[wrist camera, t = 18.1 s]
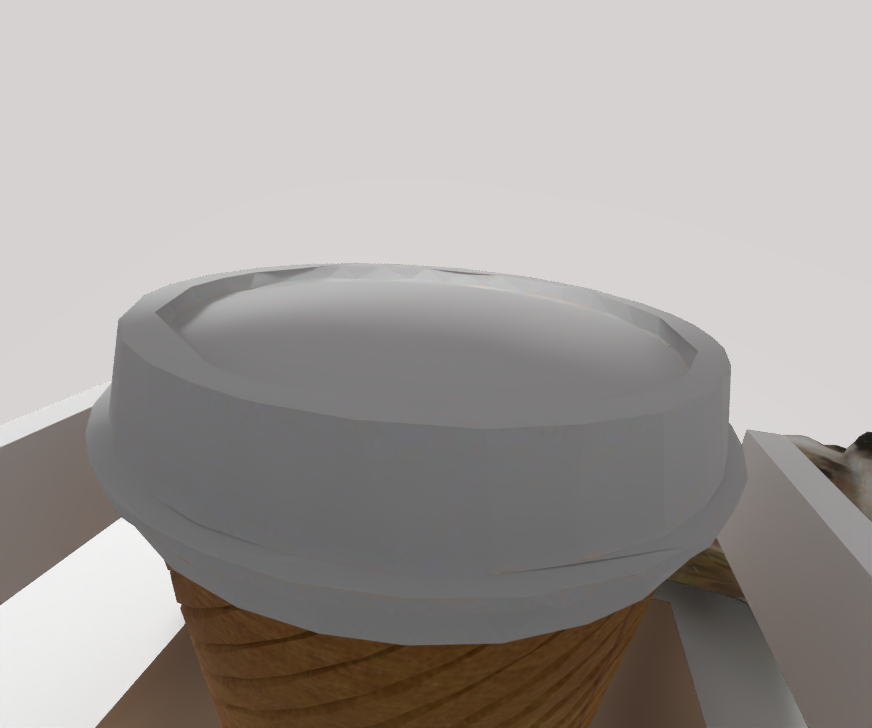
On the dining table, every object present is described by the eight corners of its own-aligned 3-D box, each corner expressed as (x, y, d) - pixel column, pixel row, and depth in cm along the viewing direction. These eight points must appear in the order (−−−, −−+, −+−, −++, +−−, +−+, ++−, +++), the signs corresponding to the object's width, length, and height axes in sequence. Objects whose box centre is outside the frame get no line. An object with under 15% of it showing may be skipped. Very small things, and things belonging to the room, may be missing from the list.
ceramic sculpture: (1280, 642, 8) (595, 388, 20) (1074, 943, 11) (570, 559, 23) (1241, 487, 14) (723, 359, 26) (1112, 708, 17) (692, 499, 29)
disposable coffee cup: (233, 634, 15) (196, 252, 11) (516, 605, 17) (571, 269, 13) (88, 1241, 6) (-323, 493, 2) (700, 1046, 8) (1041, 440, 4)
